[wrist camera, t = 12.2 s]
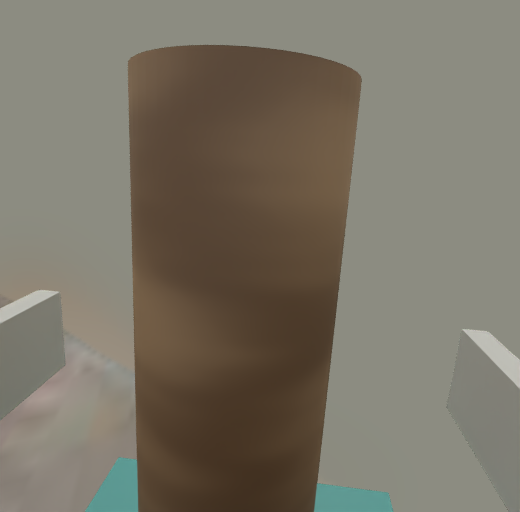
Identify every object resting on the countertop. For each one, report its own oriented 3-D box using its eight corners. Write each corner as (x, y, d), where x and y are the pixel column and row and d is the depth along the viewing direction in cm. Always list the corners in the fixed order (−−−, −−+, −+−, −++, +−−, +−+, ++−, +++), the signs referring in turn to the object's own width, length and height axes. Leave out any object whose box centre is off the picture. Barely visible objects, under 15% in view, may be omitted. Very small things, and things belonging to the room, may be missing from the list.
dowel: (118, 859, 10) (76, 39, 6) (172, 657, 15) (173, 93, 10) (282, 897, 10) (383, 49, 5) (287, 677, 14) (347, 101, 9)
